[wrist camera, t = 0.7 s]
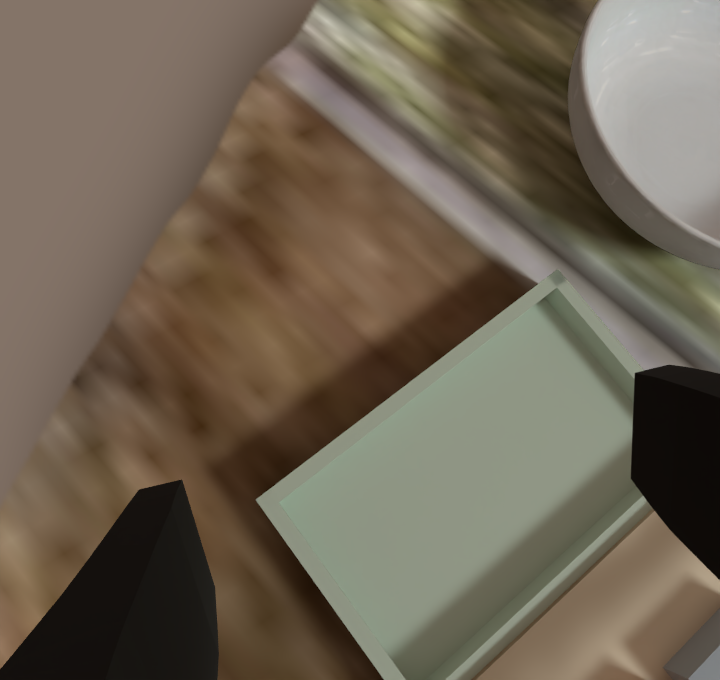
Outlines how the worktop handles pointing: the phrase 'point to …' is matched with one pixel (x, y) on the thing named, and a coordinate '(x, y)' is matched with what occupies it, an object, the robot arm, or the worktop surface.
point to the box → (472, 490)
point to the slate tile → (698, 654)
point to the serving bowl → (653, 119)
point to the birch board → (617, 614)
